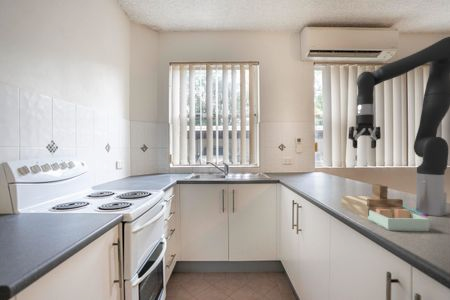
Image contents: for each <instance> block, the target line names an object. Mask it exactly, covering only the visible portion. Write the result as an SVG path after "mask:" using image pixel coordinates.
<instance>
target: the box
mask: <svg viewBox="0 0 450 300" xmlns="http://www.w3.org/2000/svg"><path fill="white" fill-rule="evenodd" d="M367 221H369V222H371V223H373V224H375V225H377V226H379V227H381V228H383V229H384V230H387V231H397V232H398V231H400V232H401V231H404V232H405V231H407V232H408V231H409V232H429V231H430V219H429V218H427V217H425V216H423V215H420V214H419V215H418V214H417V213H416V214H415V213H412V212H410V218H394V216H391V218H388V217H385V216H383V215H381V214H378V213H376V212H374V211H372V210H369V216H368V220H367Z"/></svg>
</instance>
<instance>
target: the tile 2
mask: <svg viewBox="0 0 450 300" xmlns="http://www.w3.org/2000/svg"><path fill="white" fill-rule="evenodd" d="M410 213H411V210H408V209H406V208H404V209H394V218H410Z"/></svg>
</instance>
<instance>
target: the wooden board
mask: <svg viewBox="0 0 450 300" xmlns="http://www.w3.org/2000/svg"><path fill="white" fill-rule="evenodd" d="M367 199H372V195H371V196H370V195H369V196H367V195H366V196H365V195H363V196H361V195H359V196H358V195H341V207H342V208H343V209H346V210H348V211H349V212H352V213H354V214H355V215H357V216H359V217H361V218H363V219H365V220H367V221H369V220H368V216H369V210H372V211H374V212H376V209H389V210H391V216H394V209H405V208H404V207H403V208H397V207H368V206H367Z"/></svg>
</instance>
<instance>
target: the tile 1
mask: <svg viewBox="0 0 450 300" xmlns="http://www.w3.org/2000/svg"><path fill="white" fill-rule="evenodd" d="M376 213H378V214H381V215H383V216H385V217H388V218H391V210H389V209H376Z"/></svg>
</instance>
